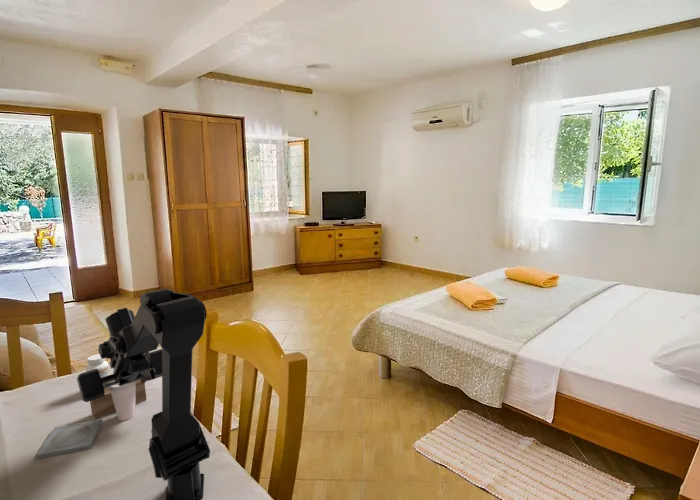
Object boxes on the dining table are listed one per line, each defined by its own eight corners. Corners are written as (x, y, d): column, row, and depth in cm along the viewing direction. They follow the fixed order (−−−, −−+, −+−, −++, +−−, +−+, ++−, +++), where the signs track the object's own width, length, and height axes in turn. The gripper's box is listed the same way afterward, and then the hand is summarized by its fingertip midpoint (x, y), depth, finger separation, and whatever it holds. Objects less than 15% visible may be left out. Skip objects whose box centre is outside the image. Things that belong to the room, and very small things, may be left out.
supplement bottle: (90, 386, 114) (86, 354, 112) (112, 382, 116) (108, 351, 114) (87, 395, 109) (82, 362, 107) (110, 391, 111) (105, 358, 109)
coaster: (90, 448, 88) (90, 444, 88) (37, 458, 85) (36, 454, 85) (103, 422, 97) (102, 418, 97) (55, 430, 94) (54, 426, 94)
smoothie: (108, 425, 96) (101, 372, 93) (116, 410, 102) (109, 360, 99) (137, 421, 97) (131, 368, 95) (143, 406, 103) (137, 356, 101)
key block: (147, 399, 107) (145, 380, 105) (94, 420, 98) (91, 399, 97) (143, 395, 109) (140, 376, 108) (90, 414, 100) (87, 394, 99)
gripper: (162, 319, 99) (150, 347, 108) (72, 341, 86) (68, 371, 95) (177, 358, 95) (164, 384, 104) (86, 388, 82) (81, 414, 91)
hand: (121, 387), depth 99 cm, fingers open, 9 cm apart
